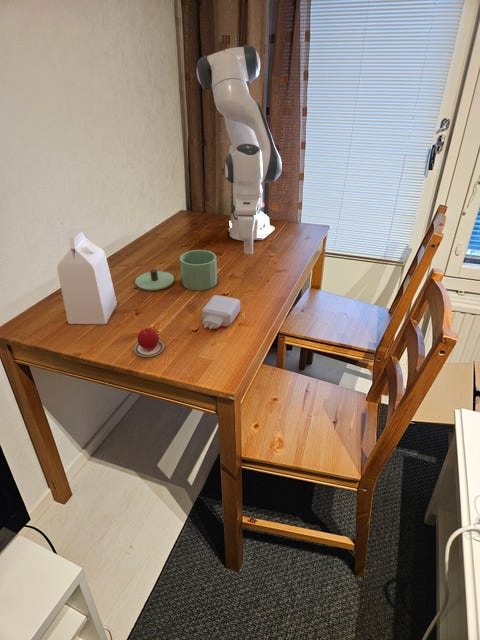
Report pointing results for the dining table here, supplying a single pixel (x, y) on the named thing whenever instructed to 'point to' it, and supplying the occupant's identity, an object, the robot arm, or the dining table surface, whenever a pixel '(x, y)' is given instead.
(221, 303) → the charger
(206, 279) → the tin
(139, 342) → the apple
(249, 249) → the glue stick
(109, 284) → the milk
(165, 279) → the tin lid
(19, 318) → the dining table surface
